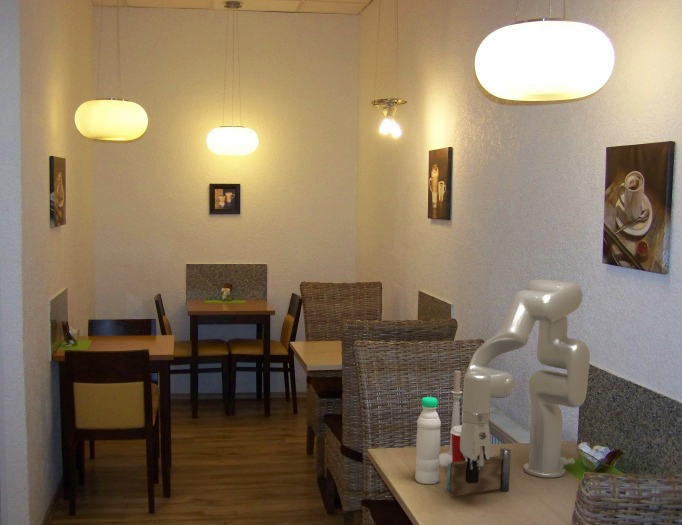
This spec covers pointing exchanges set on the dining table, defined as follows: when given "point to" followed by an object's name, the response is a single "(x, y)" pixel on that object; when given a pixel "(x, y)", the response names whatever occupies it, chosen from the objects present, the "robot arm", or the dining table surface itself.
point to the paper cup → (456, 444)
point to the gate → (486, 480)
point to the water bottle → (428, 443)
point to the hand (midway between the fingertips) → (471, 482)
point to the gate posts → (505, 470)
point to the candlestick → (453, 418)
